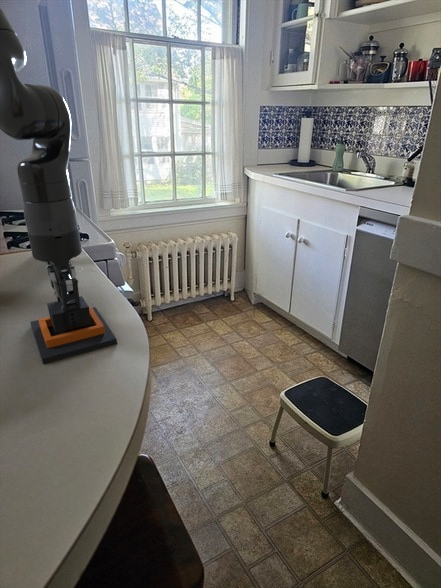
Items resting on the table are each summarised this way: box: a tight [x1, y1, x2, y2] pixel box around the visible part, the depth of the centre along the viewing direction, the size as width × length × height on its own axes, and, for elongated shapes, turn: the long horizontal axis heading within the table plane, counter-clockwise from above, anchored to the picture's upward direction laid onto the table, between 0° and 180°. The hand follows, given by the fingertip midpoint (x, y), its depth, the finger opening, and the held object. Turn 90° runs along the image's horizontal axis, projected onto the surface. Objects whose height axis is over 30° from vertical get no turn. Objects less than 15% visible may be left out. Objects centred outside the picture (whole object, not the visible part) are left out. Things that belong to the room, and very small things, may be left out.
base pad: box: [30, 306, 118, 365], centre depth 70 cm, size 12×14×2 cm
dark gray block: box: [46, 295, 91, 333], centre depth 68 cm, size 6×5×4 cm
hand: (70, 320), depth 69 cm, fingers closed on dark gray block, 5 cm apart
